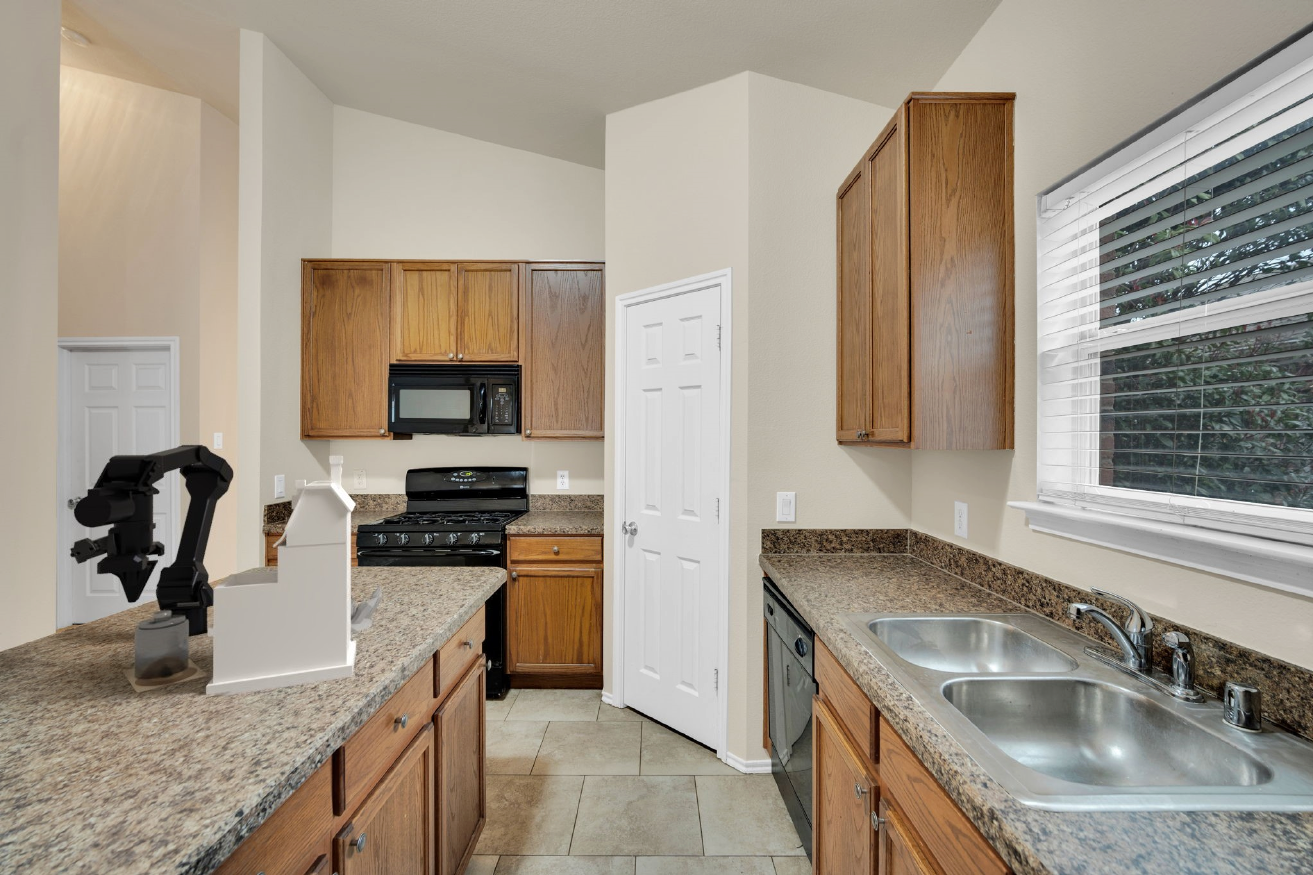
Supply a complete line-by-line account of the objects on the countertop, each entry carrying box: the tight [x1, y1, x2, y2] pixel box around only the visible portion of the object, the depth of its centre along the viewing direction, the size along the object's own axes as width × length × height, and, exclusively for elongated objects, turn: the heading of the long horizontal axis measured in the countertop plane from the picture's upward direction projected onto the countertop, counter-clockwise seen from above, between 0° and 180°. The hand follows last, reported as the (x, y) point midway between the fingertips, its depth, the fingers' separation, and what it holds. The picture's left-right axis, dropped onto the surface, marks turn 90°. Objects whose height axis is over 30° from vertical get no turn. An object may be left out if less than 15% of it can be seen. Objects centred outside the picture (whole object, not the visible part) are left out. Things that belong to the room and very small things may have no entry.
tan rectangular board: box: [121, 658, 208, 693], centre depth 107 cm, size 10×14×1 cm, turn 50°
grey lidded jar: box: [134, 610, 190, 679], centre depth 108 cm, size 8×8×11 cm
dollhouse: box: [205, 455, 357, 699], centre depth 109 cm, size 22×15×40 cm
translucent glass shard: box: [351, 584, 383, 633], centre depth 136 cm, size 10×13×15 cm
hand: (133, 601), depth 113 cm, fingers closed
